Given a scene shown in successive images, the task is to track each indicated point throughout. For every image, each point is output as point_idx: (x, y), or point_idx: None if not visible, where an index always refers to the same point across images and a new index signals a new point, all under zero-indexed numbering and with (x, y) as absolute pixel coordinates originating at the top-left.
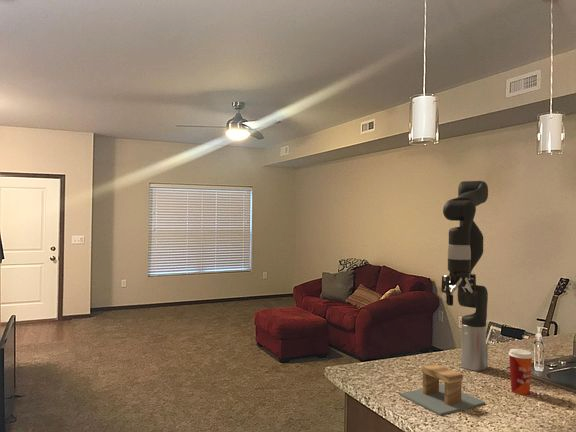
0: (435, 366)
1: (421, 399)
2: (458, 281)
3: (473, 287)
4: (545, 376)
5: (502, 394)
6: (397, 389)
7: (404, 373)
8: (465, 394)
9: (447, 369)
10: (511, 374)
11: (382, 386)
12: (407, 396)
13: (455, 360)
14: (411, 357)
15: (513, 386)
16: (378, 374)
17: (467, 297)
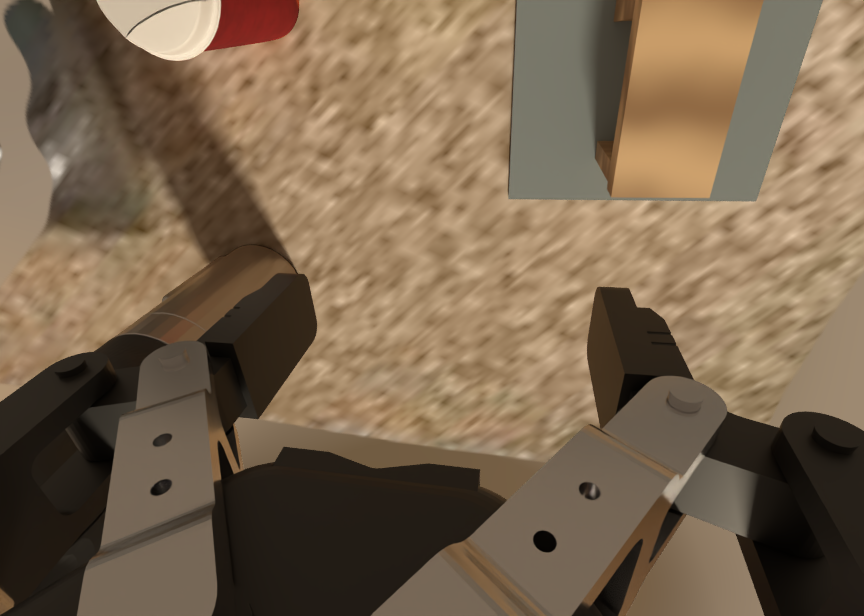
0: (649, 164)
1: (746, 105)
2: (534, 614)
3: (74, 398)
4: (62, 95)
5: (359, 10)
6: (700, 248)
7: (533, 346)
8: (521, 66)
9: (639, 94)
10: (266, 13)
11: (721, 294)
12: (763, 160)
13: None
14: (394, 429)
15: (289, 2)
16: None
17: (276, 335)
